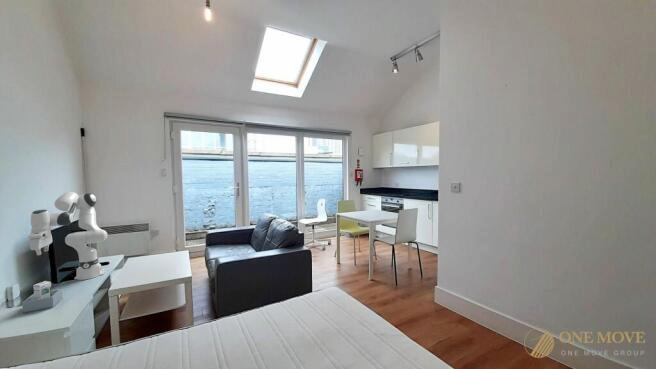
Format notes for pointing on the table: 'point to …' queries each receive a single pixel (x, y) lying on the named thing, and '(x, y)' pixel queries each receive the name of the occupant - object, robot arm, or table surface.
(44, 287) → the syrup box
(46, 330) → the table surface
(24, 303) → the crate
